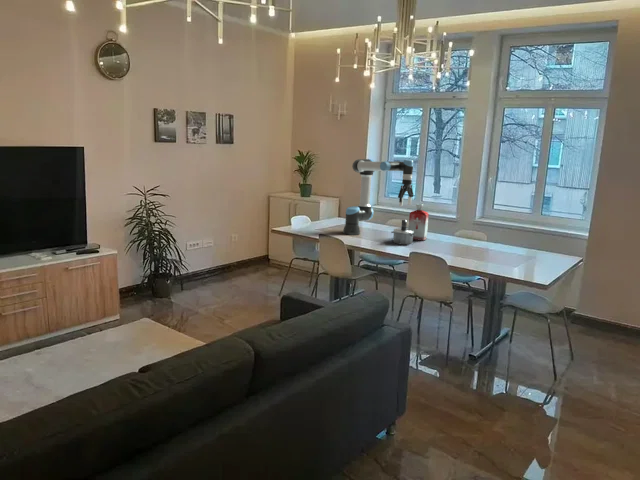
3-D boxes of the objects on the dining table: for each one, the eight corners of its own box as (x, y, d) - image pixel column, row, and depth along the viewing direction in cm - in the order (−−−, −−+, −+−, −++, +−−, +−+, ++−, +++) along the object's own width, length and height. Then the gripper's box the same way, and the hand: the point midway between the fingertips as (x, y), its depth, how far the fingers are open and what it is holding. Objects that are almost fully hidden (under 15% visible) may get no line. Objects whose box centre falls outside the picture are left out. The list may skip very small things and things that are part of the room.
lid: (389, 231, 418) (390, 219, 416) (400, 229, 430) (401, 217, 428) (407, 234, 407) (407, 222, 405) (417, 232, 420) (418, 220, 418)
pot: (387, 241, 421) (387, 231, 419) (397, 239, 433) (397, 228, 431) (408, 245, 408) (409, 234, 406) (418, 243, 420) (419, 232, 418)
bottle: (407, 239, 435) (409, 204, 429) (410, 237, 444) (413, 202, 438) (423, 241, 429) (426, 205, 423) (427, 239, 438) (430, 204, 432)
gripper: (403, 180, 398) (400, 207, 403) (419, 179, 417) (416, 204, 422) (394, 179, 403) (392, 206, 408) (411, 178, 422) (408, 203, 426)
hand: (405, 205), depth 415 cm, fingers open, 13 cm apart
